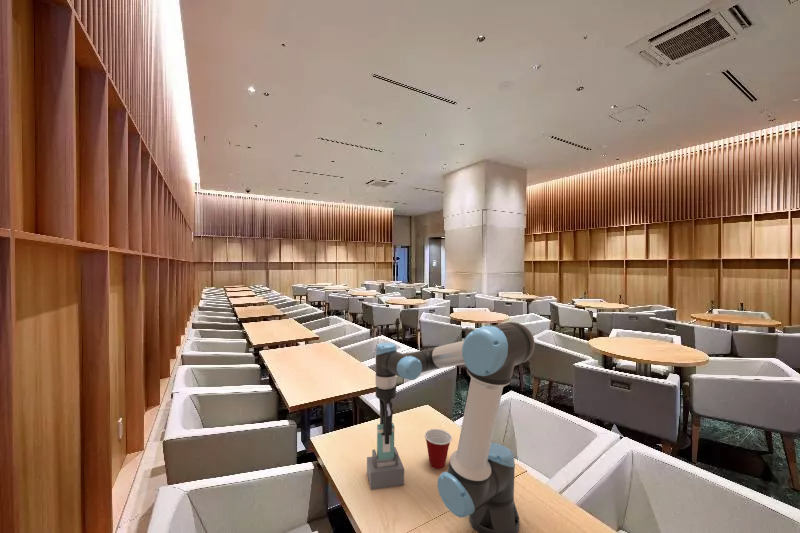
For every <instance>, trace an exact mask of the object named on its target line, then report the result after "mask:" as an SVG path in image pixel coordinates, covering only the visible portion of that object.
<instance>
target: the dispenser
mask: <svg viewBox="0 0 800 533" xmlns="http://www.w3.org/2000/svg"><path fill="white" fill-rule="evenodd" d="M371 452H372V454H371V456H367V457H366V475H367V479H368V484H369V488H370V491H371V490H377V489H386V488H393V487H400V486H404V485H405V467H404V465H403V463H402V460H401V458H400V455H399V452H398V450H397V448H396V446H394V458H391V459H383V460H378V458H377V450H376V449H372V450H371Z"/></svg>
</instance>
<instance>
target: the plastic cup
mask: <svg viewBox="0 0 800 533" xmlns="http://www.w3.org/2000/svg"><path fill="white" fill-rule="evenodd" d="M424 438H425V441H426V448H427V455H428V460H429V465H430V467H432V469H435V470H443V469H444V468H445V466H446V463H447V462H446V461H447V457H448V452H449V447H450V444H451V442H452V441H453V437H452V434H451V433H450V432H448V431H447V430H444V429H442V428H441V429H440V428H431V429H428V430H426V431H425V432H424Z"/></svg>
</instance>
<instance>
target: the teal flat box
mask: <svg viewBox="0 0 800 533" xmlns="http://www.w3.org/2000/svg"><path fill="white" fill-rule="evenodd" d="M395 430H396V429H395V424H394V422H392V435H390V452H384V453H383V436H382V435H381V433H383V424H380V423H378V424H376V454H377V458H378V460H383V459H391V458H394V447H395V432H396V431H395Z"/></svg>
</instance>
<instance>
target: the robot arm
mask: <svg viewBox="0 0 800 533" xmlns="http://www.w3.org/2000/svg"><path fill="white" fill-rule="evenodd" d="M535 345H536V342H535V338H534V336H533V333H532V332H531V330H529V328H528V327H527V326H525V325H523V324H521V323H519V322H516V321H515V322H514V321H508V322H503V323H498V324H493V325H484V326H481V327H479V328H476V329H473V330H472V331H471V332H469V333H468V334H467V336H466V337H465V338H464V340H461V341H456V342H453V343H452V342H451V343H448V344H444V345H440V346H435V347H430V348H427V349H422V350H417V351H413V352H408V353H402V352H398V351H397V350H398V349H397V345H396V344H395V343H394V342H380V343H378V344H377V345H376V347H375V398H377V399H379V424H383V433H381V435H382V436H383V453H384V452H390V435H392V423H393V413H394V410H393V409H392V408H393V403H392V400H393V399H395V398H396V397H397V387H396V385H397V379H399V378H398V377H400V378H402V379H405V380H410V381H415V380H416V379H418V377H420V375H421V374H422V373H425V372H429V371H433V370H438V369H439V370H440V369H444V368H450V367H456V366H462V365H465V367H466V372H467V374H468V375H469V377H470V382H469V388H468V391H467V392H468V393H467V398H466V401H465V408H464V414H463V418H462V422H461V424H462V425H461V428H460V434H459V440H458V445H457V449H456V450H454V452H452V453H451V455H450V457H449V462H448V468H447V470H446V471H442V472H441V474H440V475H439V476H438V477H437V482H436V483H437V489H438V494H439V496H440V498H441V500H442V503H443V505H444V507H446V509H447V510H448V511H449V512H450V513H452V514H453V515H454V516H456V517H458V518H467V517H468V519H469V520H468V521H469V523H470V526H471V527H472V528H473V529H474V530H475V531H476V532H477V533H519V532H520V517H519V512H518V510H517V506H516V503H515V500H514V499H515V496H514V495H515V468H516V464H515V456H514V453H513V451H512V450H510V448H508V447H507V446H505V445H502V444H500V443H497V442H493V437H494V432H495V427H496V424H497V419H498V418H497V417H498V413H499V408H500V405H501V399H502V396H503V389H504V387H506V386H509V385H510V383H511V381H512V377H513V372H514V368H515V366H518V365H521V364H523V363H525V362H527V361H528V360H530V358H531V357H532V355H533V354H534V352H535V351H534V350H535V347H536V346H535Z"/></svg>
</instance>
